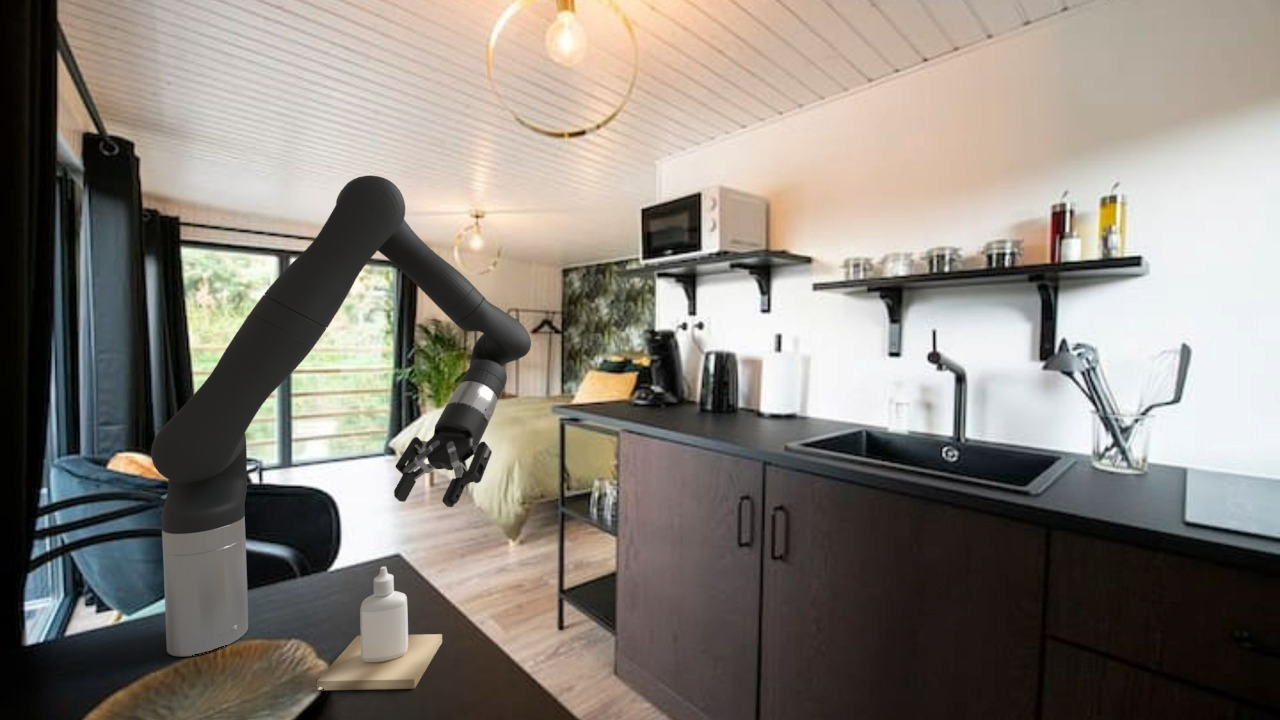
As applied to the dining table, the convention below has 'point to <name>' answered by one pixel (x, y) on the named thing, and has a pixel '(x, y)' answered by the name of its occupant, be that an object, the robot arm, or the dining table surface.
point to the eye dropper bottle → (384, 621)
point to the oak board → (381, 667)
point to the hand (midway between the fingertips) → (422, 501)
